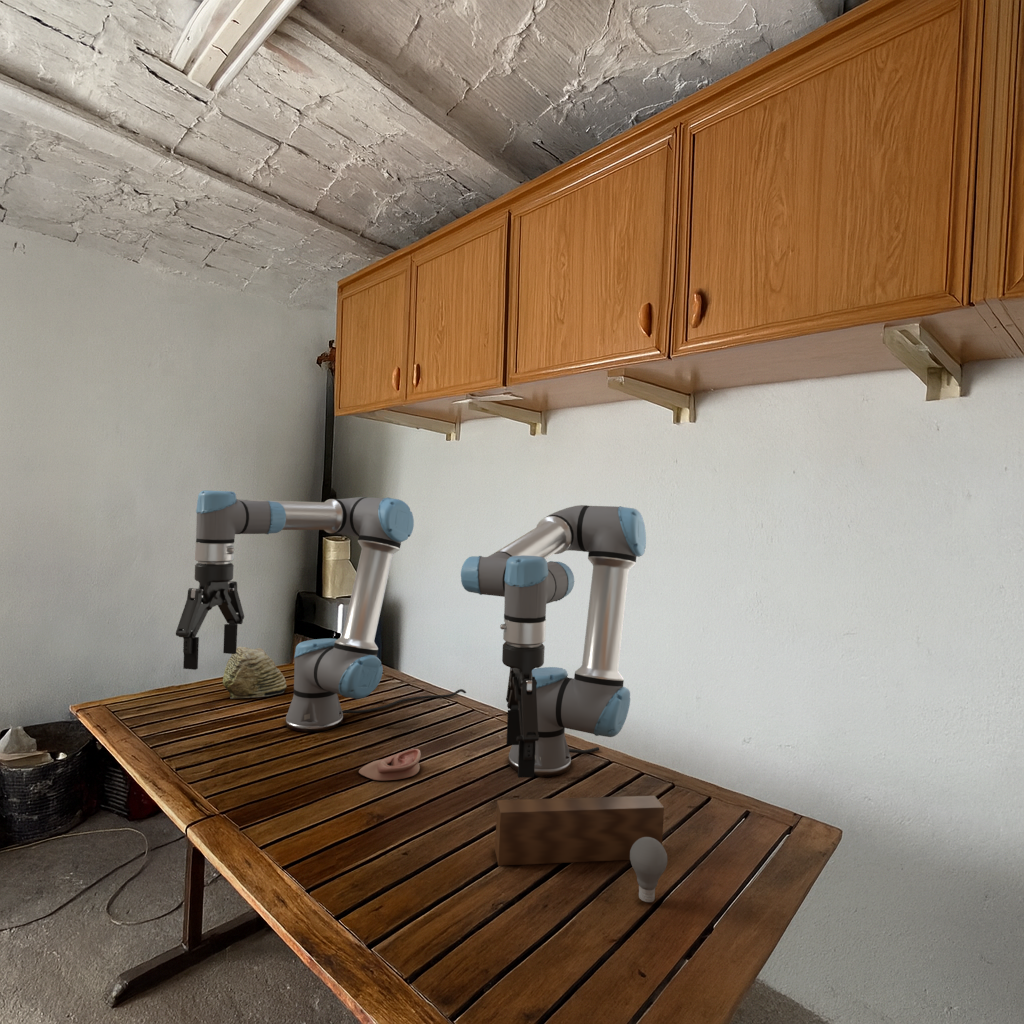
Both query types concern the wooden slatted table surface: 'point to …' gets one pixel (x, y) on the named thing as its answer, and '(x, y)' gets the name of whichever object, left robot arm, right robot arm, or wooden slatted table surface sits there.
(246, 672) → the fossil
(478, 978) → the wooden slatted table surface
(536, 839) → the bar
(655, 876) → the light bulb
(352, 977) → the wooden slatted table surface
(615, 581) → the right robot arm
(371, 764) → the anatomical model
